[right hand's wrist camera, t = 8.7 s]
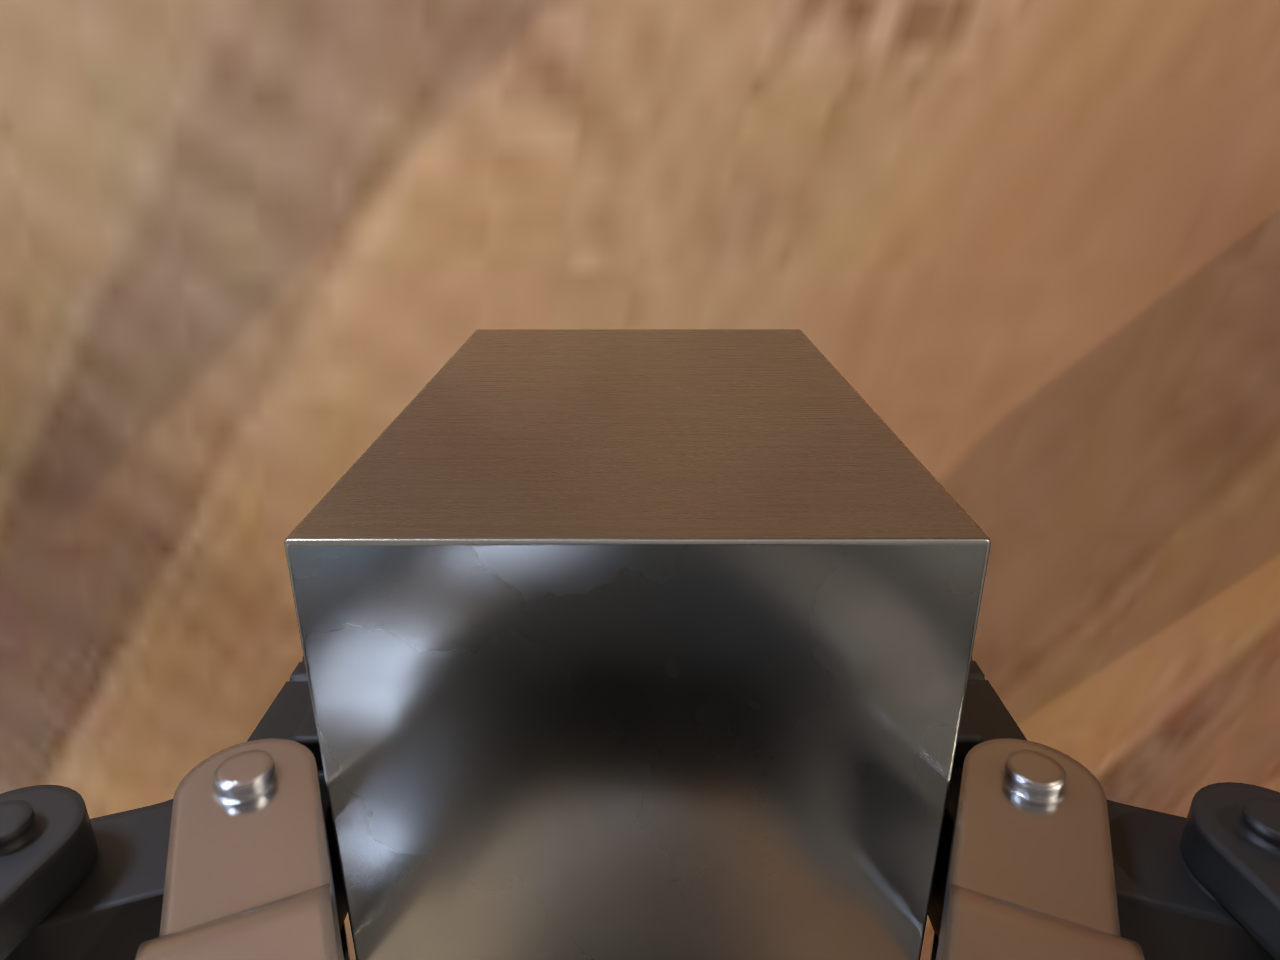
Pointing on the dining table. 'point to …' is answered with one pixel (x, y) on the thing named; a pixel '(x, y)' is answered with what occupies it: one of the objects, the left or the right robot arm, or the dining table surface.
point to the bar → (637, 657)
